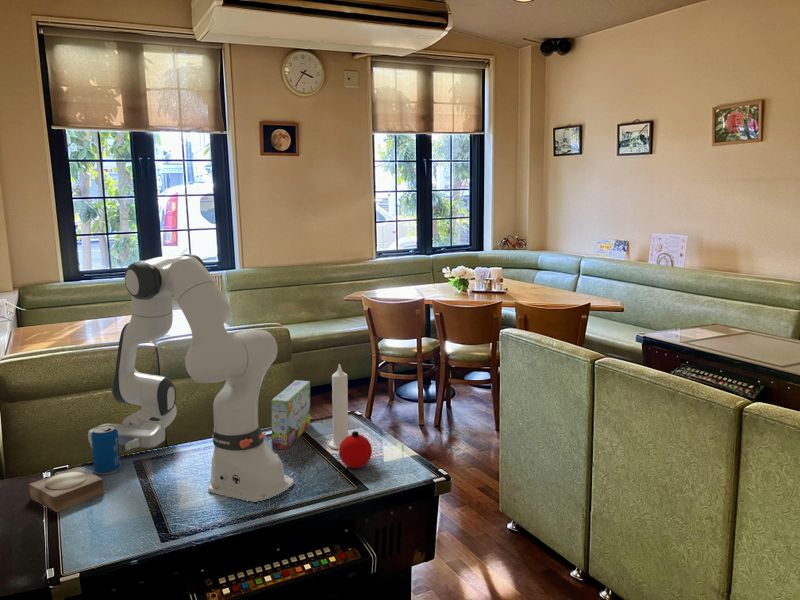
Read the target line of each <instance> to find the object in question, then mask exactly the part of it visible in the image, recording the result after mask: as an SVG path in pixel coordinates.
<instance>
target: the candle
mask: <svg viewBox="0 0 800 600" xmlns="http://www.w3.org/2000/svg"><path fill="white" fill-rule="evenodd" d="M337 366H338V367H337V370H336V371H335V372H334V373H333V374H332V375H331V387H332V388H331V389H332V390H331V393H332V395H331V397H332V398H331V399H332V439H331V440H330V441H329V443H328V447H329V448H330V449H332V450H335V449H336V450H338V451H339V447H340V444H341V443H342V441H343V440H344V439H345V438H346V437H348V436H349V405H348V403H349V396H348V394H349V389H348V386H349V383H348V374H347V373H346V372H344V371H343V369H342V366H341V364H340V363H338V365H337ZM336 450H335V451H336Z"/></svg>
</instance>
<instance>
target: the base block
mask: <svg viewBox="0 0 800 600" xmlns="http://www.w3.org/2000/svg"><path fill="white" fill-rule="evenodd" d="M28 487H29V488H28V489H29V498H30V500H31V499H33V500H35V501H37V502H39V503H40V504H42V505H44V506H46V507H48V508H50V509H52V510H53V511H55V512H58V513H60V512H62V511H63V512H64V510H67V509H70V508H72V507H74V506H77V505H80V504H82V503H85V502H87V501H89V500H92V499H95V498H98V497H100V496H102V495H105V489H104V479H103V478H102V477H100V476H98V475H96V474H93V473H91V472H89V471H87V470H85V469H83V468H82V467H81V468H80V467H79V466H77V467H73V468H71V469H68V470H65V471H62V472H59V473H56V474H54V475H53V474H52V475H50V476H48V477H45V478H42V479H40V480H36V481H34V482H31V483H29V484H28ZM33 500H32V501H33ZM35 501H34V502H35ZM40 504H39V505H40ZM42 505H41V506H42Z"/></svg>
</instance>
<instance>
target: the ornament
mask: <svg viewBox="0 0 800 600" xmlns="http://www.w3.org/2000/svg"><path fill="white" fill-rule="evenodd" d="M372 452H373V449H372V444H371V442H370V441H369V439H368V438H366V437H365V436H364V435H361V434H359V432H358V430H357V431H352V432H351V434H350V435H348V437H346V438H345V439H344V440H343V441H342V443H341V444H340V447H339V450H338V456H339V458H340V460H341V462H342V463H343V465H346V466H347V467H349V468H351V469H358V468H362V467H364V466H366V465H367V463H369V461H370V460H371V457H372Z"/></svg>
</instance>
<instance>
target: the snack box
mask: <svg viewBox="0 0 800 600" xmlns="http://www.w3.org/2000/svg"><path fill="white" fill-rule="evenodd" d="M270 402H271V448H273V449H278V448H279V449H278V450H288V449H289V448H290V447H291V446H292V445H293V444H294V443H295V442H296V441H297V440H298V438H300V437H301V435H302V434H304V432H305V431H306V430H307V429H308V428H309V427H310V426H311V381H310V380H298V379H297V380H296V379H295V380H293V382H292V383H290V384H289V385H288V386H287V387H285V388H284V389H283V390H281V392H280V393H278V394H277V395H276V396H275V397H273V399H271V401H270ZM296 439H297V440H296ZM295 440H296V441H295ZM294 441H295V442H294Z"/></svg>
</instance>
